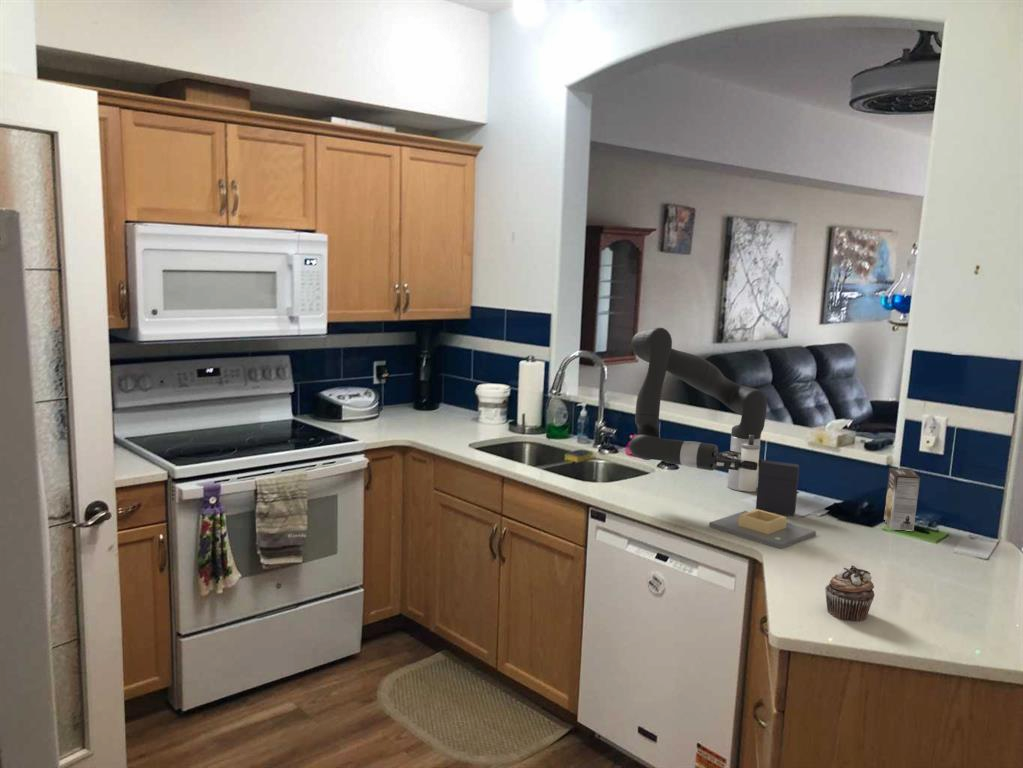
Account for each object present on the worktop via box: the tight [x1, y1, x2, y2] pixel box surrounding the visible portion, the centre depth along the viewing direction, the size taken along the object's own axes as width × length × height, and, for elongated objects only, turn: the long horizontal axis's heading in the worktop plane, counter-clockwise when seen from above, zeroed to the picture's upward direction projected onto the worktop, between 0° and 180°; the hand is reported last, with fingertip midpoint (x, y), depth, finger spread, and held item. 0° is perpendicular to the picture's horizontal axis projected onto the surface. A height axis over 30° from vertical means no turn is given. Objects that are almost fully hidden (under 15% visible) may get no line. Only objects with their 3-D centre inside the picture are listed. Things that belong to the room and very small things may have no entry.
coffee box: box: [883, 467, 921, 531], centre depth 233 cm, size 9×6×16 cm
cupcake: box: [824, 565, 875, 622], centre depth 174 cm, size 10×10×10 cm
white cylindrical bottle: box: [738, 435, 761, 493], centre depth 229 cm, size 5×5×15 cm
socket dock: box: [708, 508, 817, 550], centre depth 227 cm, size 18×22×4 cm
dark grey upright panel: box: [755, 459, 800, 517], centre depth 243 cm, size 11×4×15 cm, turn 65°
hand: (759, 464), depth 228 cm, fingers closed on white cylindrical bottle, 4 cm apart
